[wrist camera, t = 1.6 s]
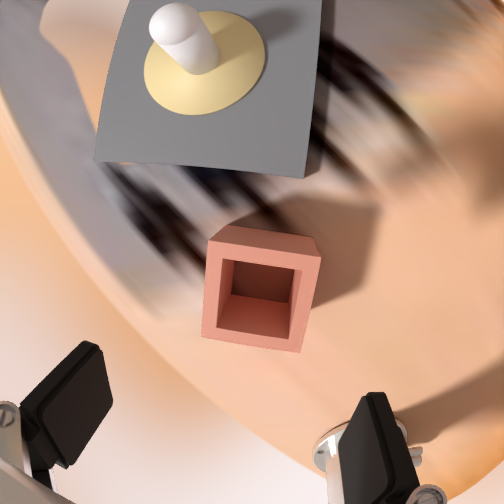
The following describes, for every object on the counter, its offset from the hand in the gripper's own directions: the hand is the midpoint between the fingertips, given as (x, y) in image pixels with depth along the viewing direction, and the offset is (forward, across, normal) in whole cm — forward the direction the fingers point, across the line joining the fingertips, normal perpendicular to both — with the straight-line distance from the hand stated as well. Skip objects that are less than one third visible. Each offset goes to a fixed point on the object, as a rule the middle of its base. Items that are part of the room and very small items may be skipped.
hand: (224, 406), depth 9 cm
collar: (+16, 0, +1) cm, 16 cm away
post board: (+16, +7, -16) cm, 24 cm away
